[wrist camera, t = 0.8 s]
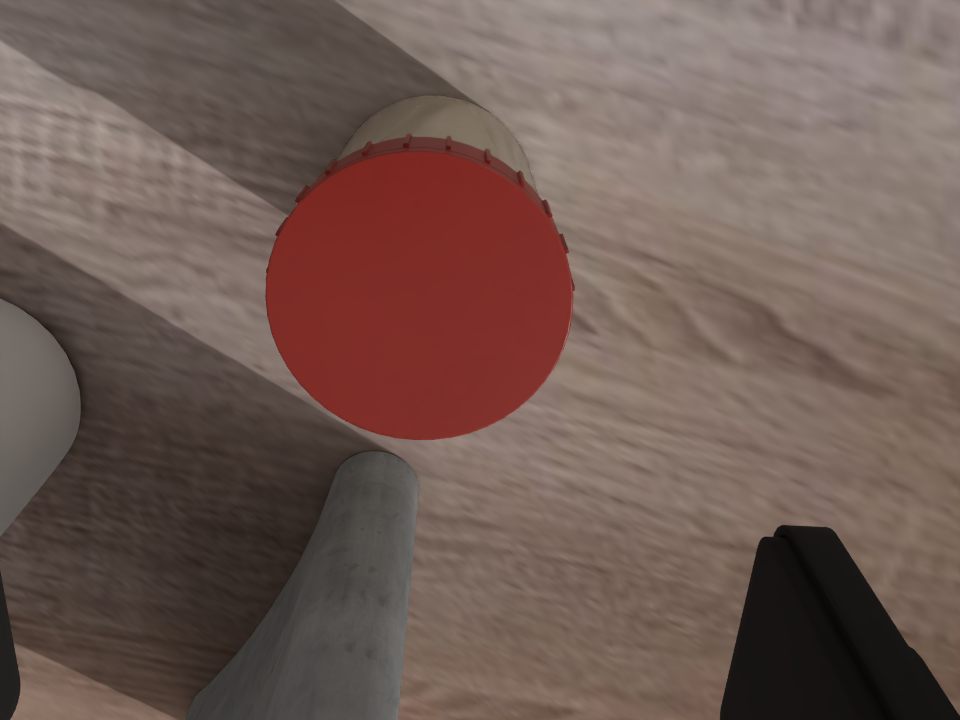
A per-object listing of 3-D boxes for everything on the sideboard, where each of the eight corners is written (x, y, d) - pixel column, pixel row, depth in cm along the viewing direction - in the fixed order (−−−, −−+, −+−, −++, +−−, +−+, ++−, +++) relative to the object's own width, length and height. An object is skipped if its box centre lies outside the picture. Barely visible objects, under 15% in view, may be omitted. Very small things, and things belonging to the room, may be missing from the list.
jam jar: (334, 88, 28) (273, 146, 19) (542, 101, 28) (577, 165, 19) (334, 286, 30) (280, 417, 21) (525, 297, 30) (548, 431, 22)
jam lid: (274, 123, 20) (256, 137, 18) (582, 143, 20) (592, 158, 19) (281, 402, 23) (267, 435, 21) (552, 416, 23) (559, 450, 21)
